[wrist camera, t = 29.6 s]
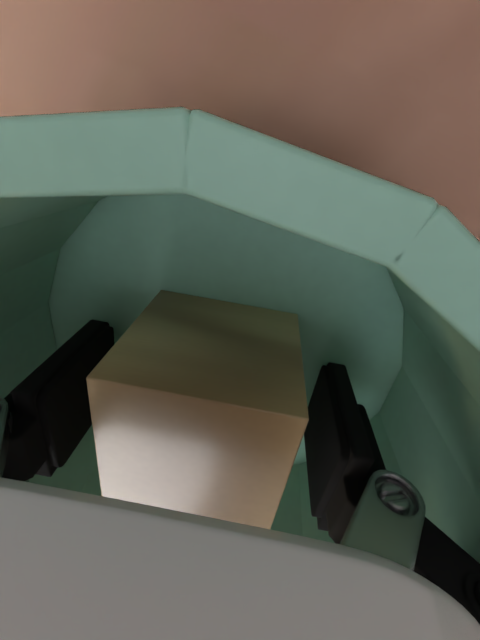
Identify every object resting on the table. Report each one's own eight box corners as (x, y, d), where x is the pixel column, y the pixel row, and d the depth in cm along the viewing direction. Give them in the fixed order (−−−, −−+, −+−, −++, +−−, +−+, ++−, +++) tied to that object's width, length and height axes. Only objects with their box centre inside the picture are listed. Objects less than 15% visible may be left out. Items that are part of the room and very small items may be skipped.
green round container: (66, 441, 17) (-55, 607, 11) (-1, 95, 9) (-535, -9, 3) (346, 496, 16) (386, 702, 10) (513, 178, 9) (1035, 241, 3)
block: (158, 392, 14) (102, 506, 9) (160, 288, 11) (85, 377, 7) (271, 414, 14) (267, 540, 9) (297, 313, 11) (309, 420, 7)
